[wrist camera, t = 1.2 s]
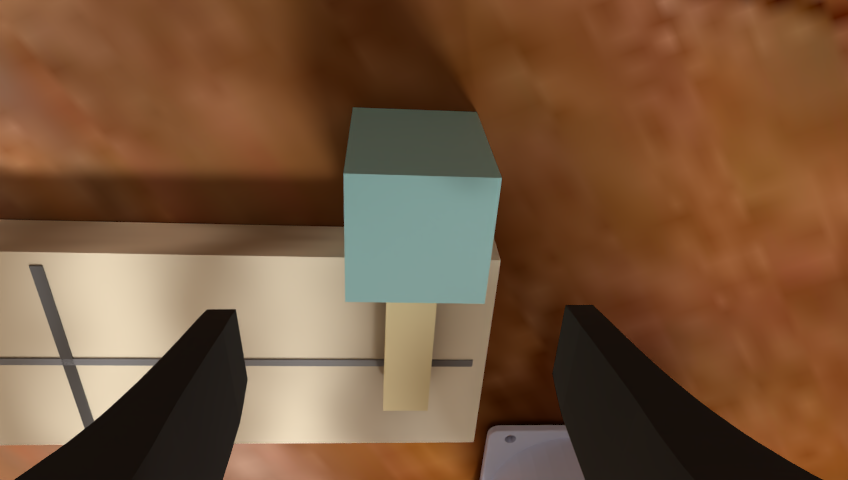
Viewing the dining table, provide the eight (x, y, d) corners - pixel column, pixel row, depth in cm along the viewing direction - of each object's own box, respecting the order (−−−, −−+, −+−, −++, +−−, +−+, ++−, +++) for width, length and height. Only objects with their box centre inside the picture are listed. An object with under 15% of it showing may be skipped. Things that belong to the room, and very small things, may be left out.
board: (491, 230, 22) (501, 261, 20) (467, 405, 26) (473, 443, 25) (-63, 218, 20) (-105, 250, 19) (16, 406, 25) (-12, 446, 23)
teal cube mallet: (476, 111, 19) (501, 178, 15) (451, 345, 25) (465, 444, 20) (352, 107, 19) (343, 173, 15) (353, 344, 24) (347, 445, 20)
